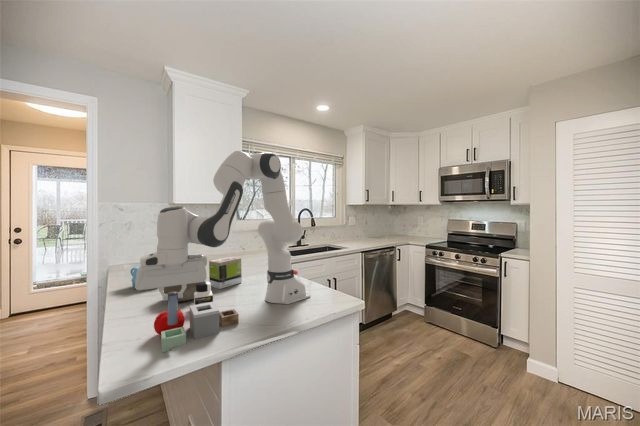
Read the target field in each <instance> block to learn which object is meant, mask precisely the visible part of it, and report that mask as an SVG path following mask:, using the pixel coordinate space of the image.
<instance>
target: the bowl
mask: <svg viewBox="0 0 640 426" xmlns="http://www.w3.org/2000/svg"><path fill="white" fill-rule="evenodd" d="M198 283H199V282H198ZM196 284H197V283H191V284H187V287H186V289H185V291H184V292H183V298H179V299H178V303H179V302H180V303H181V302H183V303H184V302H188V301H192V300H194V293H195V292H196ZM181 289H182V287H181V285H176V286H168V287H164V290H163V292H164V293H165V294H168V293H169V292H180V291H181Z"/></svg>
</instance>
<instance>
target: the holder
mask: <svg viewBox="0 0 640 426" xmlns="http://www.w3.org/2000/svg"><path fill="white" fill-rule="evenodd" d="M239 323H240V322H239V313H238V312H237V310H236V309H235V308H232V309H226V310H222V311H219V326H221V327H222V328H224V327H229V326H235V325H238V324H239Z"/></svg>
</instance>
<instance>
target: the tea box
mask: <svg viewBox="0 0 640 426" xmlns="http://www.w3.org/2000/svg"><path fill="white" fill-rule="evenodd" d="M208 270H209V273H208V274H209V277H208V278H209V279H208V280H209V281H208V282H210V283H211V286H212V287H211V288H215V289H219V290H220V289H224V288H227V287H231V286H234V285H237V284H238V285H239V284H241V283H242V276H243V274H242V258H240V257H234V256H228V257H223V258H217V259H213V260H208Z"/></svg>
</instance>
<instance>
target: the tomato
mask: <svg viewBox="0 0 640 426" xmlns="http://www.w3.org/2000/svg"><path fill="white" fill-rule="evenodd" d="M185 321H186V317H185V315H184V312H183V311H182V310H180V309H178V316H177V324H175V325H168V309H167V310H166V309H165V310H164V311H162V312H161V313H159V314H158V315H157V316H156V317H155V320H154V322H153V329H154V331H155V333H156V334H157V335H159V336H160V337H161V331H166V330H170V329H175V328H180V327H184V325H185Z"/></svg>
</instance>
